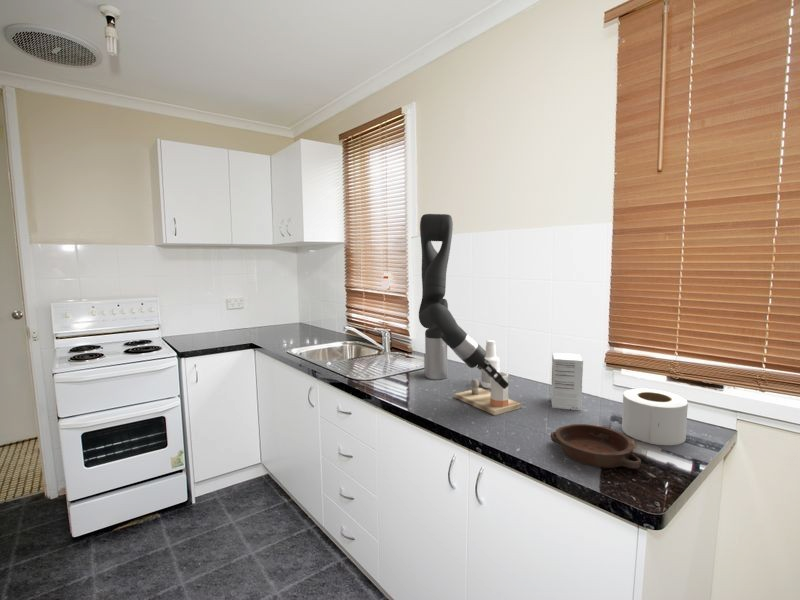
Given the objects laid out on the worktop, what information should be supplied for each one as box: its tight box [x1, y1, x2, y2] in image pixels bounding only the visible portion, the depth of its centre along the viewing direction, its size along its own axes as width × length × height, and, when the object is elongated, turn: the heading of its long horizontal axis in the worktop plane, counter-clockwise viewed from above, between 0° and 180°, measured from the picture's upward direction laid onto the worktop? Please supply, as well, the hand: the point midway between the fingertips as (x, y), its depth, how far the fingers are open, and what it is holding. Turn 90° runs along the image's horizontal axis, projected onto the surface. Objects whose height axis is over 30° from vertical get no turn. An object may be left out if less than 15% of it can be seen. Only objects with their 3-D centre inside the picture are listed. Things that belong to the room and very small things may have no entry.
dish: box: [550, 423, 642, 470], centre depth 105 cm, size 18×22×5 cm
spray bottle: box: [480, 339, 501, 390], centre depth 161 cm, size 7×7×18 cm
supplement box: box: [550, 352, 584, 411], centre depth 140 cm, size 10×9×17 cm
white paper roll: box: [621, 388, 689, 446], centre depth 117 cm, size 16×15×11 cm
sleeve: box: [490, 371, 509, 407], centre depth 138 cm, size 6×6×10 cm
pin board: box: [454, 378, 522, 416], centre depth 143 cm, size 20×12×6 cm, turn 31°
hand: (501, 382), depth 138 cm, fingers open, 8 cm apart
